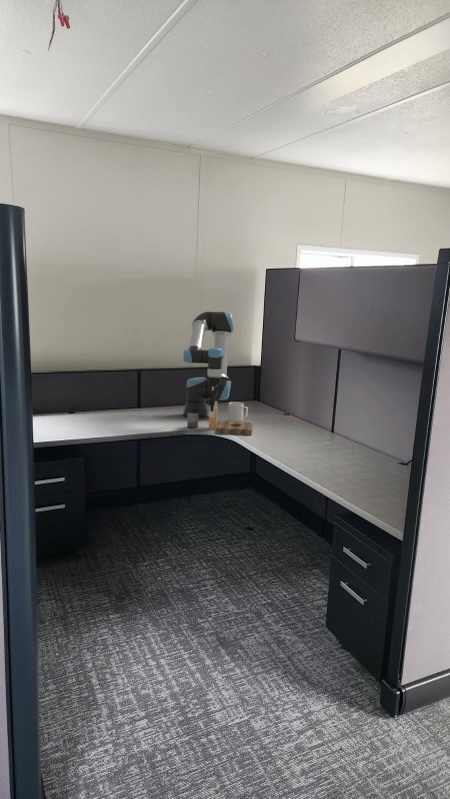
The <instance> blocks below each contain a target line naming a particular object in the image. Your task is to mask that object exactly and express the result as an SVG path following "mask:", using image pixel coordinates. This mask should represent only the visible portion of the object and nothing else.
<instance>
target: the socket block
mask: <svg viewBox="0 0 450 799" xmlns="http://www.w3.org/2000/svg"><path fill="white" fill-rule="evenodd" d="M253 424H254V422H251V421H249V422H248V421H242V422H234V421H229V420H220V422H219V425H218V426H217V434H219V435H220V434H221V435H235V436H236V435H238V436H239V435H242V436H252V435H253Z"/></svg>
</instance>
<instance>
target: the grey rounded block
mask: <svg viewBox="0 0 450 799" xmlns="http://www.w3.org/2000/svg"><path fill="white" fill-rule="evenodd" d="M186 418H187V420H186V422H187V423H186V429H189V430H196V429H198V428H199V418H198V413H188V414H187V417H186Z"/></svg>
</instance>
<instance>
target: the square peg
mask: <svg viewBox="0 0 450 799" xmlns="http://www.w3.org/2000/svg"><path fill="white" fill-rule="evenodd" d="M209 412H210V407H209ZM209 412H208V413H209ZM208 430H210V431H211V430H214V431H217V430H218V406H217V407H215V417H209V416H208Z"/></svg>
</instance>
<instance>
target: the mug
mask: <svg viewBox="0 0 450 799" xmlns="http://www.w3.org/2000/svg"><path fill="white" fill-rule="evenodd" d="M244 409H245V416H244ZM227 410H228V411H227V414H228V416H227V421H234V422H244V419H246V418H247V417H248V412H249V407H247V406H245V404H244V402H241V401H240V402H239V401H230V402H228V408H227Z"/></svg>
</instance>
